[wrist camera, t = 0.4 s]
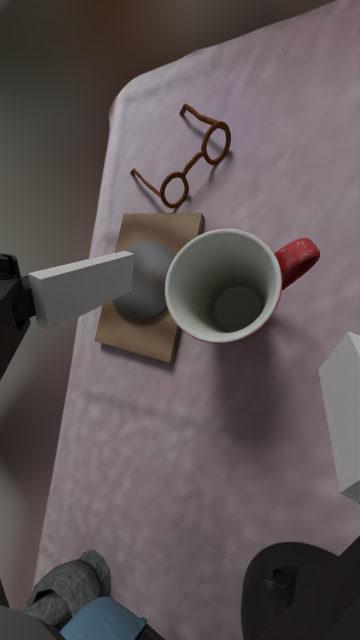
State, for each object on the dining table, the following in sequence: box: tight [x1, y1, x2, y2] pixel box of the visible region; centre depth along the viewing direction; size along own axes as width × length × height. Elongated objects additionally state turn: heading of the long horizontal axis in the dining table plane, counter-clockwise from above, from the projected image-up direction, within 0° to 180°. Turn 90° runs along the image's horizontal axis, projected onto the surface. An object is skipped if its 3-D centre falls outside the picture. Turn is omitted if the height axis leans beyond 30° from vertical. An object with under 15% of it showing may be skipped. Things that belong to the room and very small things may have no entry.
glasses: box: [130, 104, 231, 208], centre depth 33 cm, size 13×13×5 cm
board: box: [95, 213, 205, 363], centre depth 33 cm, size 22×14×2 cm, turn 166°
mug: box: [165, 229, 320, 344], centre depth 22 cm, size 13×9×14 cm
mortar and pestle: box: [21, 550, 111, 632], centre depth 27 cm, size 11×9×12 cm
